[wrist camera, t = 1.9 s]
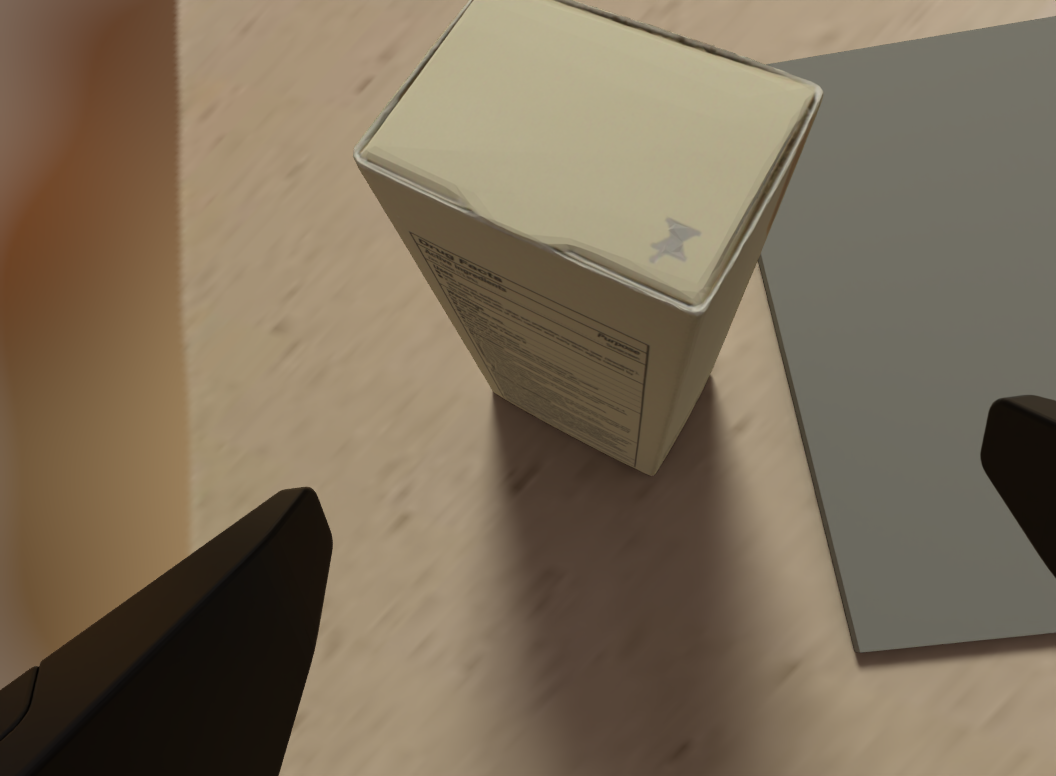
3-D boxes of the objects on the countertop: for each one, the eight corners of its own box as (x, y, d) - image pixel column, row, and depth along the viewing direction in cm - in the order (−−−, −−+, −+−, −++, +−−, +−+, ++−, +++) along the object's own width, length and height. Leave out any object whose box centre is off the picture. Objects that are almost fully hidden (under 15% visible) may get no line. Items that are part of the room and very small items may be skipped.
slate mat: (1398, 595, 17) (1416, 595, 17) (854, 651, 18) (860, 652, 18) (1105, 15, 23) (1114, 6, 23) (714, 81, 24) (716, 72, 24)
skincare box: (715, 367, 21) (858, 85, 9) (652, 482, 20) (725, 331, 8) (544, 283, 22) (485, -46, 11) (479, 388, 22) (338, 150, 10)
